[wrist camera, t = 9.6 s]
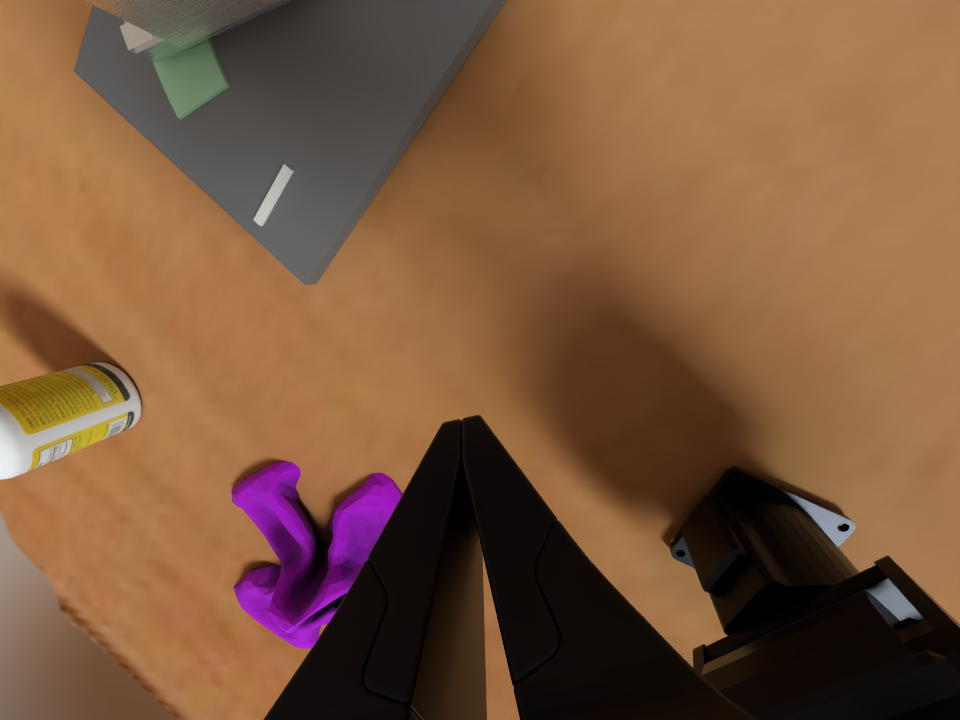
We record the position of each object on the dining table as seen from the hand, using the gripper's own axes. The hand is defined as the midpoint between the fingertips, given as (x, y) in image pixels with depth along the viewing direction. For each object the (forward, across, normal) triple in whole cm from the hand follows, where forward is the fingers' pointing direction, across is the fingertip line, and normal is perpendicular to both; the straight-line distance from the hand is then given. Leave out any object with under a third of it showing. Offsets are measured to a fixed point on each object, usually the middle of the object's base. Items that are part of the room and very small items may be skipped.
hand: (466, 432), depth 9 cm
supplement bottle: (+19, +28, +6) cm, 34 cm away
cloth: (+12, +13, +21) cm, 27 cm away
